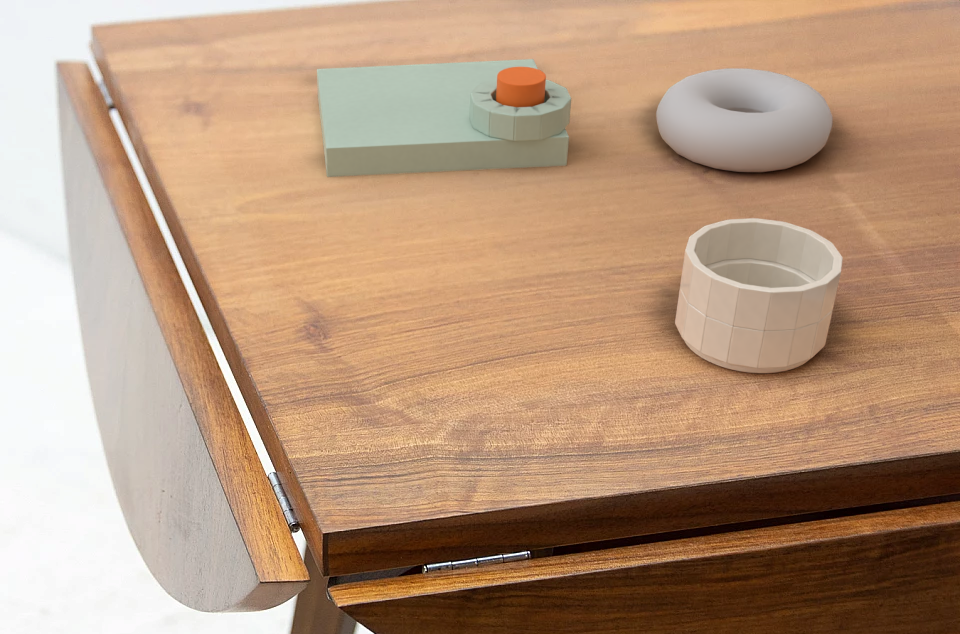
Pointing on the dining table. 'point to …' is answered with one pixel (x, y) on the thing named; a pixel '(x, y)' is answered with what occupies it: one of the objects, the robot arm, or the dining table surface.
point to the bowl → (757, 294)
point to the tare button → (520, 87)
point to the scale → (435, 120)
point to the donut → (744, 120)
